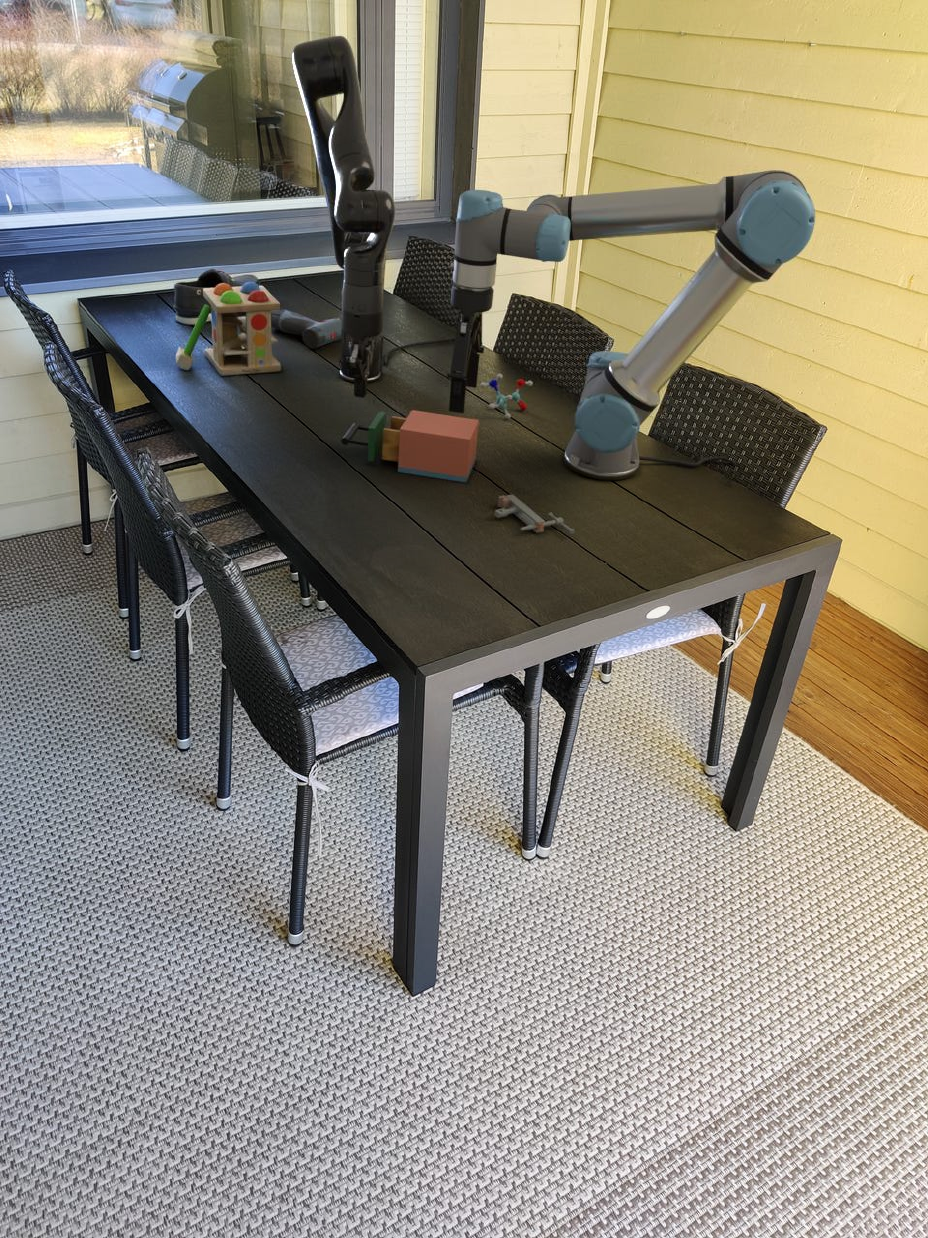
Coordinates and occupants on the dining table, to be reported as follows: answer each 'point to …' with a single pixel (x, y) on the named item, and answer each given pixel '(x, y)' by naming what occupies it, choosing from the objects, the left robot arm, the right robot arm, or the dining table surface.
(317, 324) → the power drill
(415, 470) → the cabinet
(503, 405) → the molecular model
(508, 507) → the clamp
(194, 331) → the pounding bench toy
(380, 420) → the drawer
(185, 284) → the boat shoe
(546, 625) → the dining table surface
